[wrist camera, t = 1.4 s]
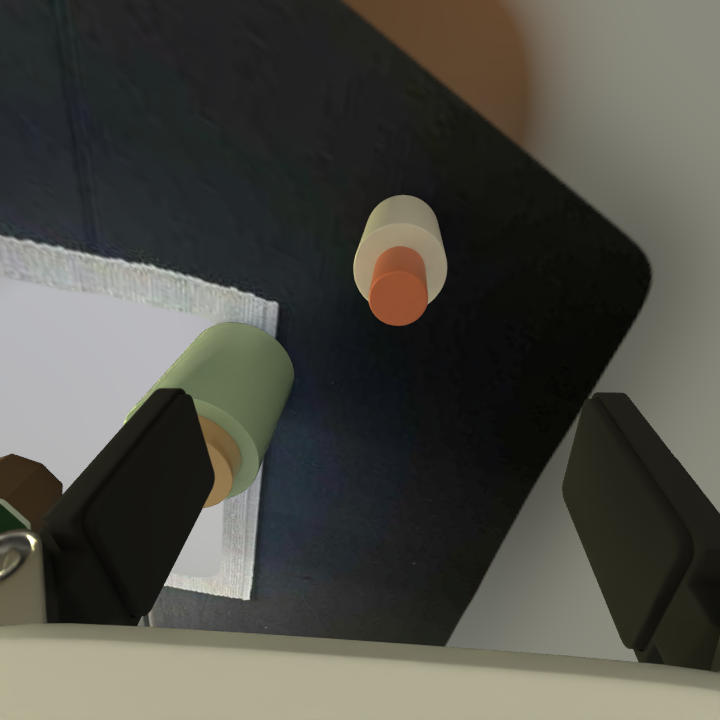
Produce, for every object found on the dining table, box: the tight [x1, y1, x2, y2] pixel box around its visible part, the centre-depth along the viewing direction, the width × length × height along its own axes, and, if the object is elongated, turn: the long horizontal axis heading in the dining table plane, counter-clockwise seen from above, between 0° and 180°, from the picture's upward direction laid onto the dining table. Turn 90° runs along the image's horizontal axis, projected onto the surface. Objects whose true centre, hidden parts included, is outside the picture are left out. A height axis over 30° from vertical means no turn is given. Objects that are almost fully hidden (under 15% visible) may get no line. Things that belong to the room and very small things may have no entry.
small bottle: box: [354, 195, 447, 326], centre depth 22 cm, size 4×4×10 cm
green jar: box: [124, 323, 294, 508], centre depth 28 cm, size 8×8×10 cm
